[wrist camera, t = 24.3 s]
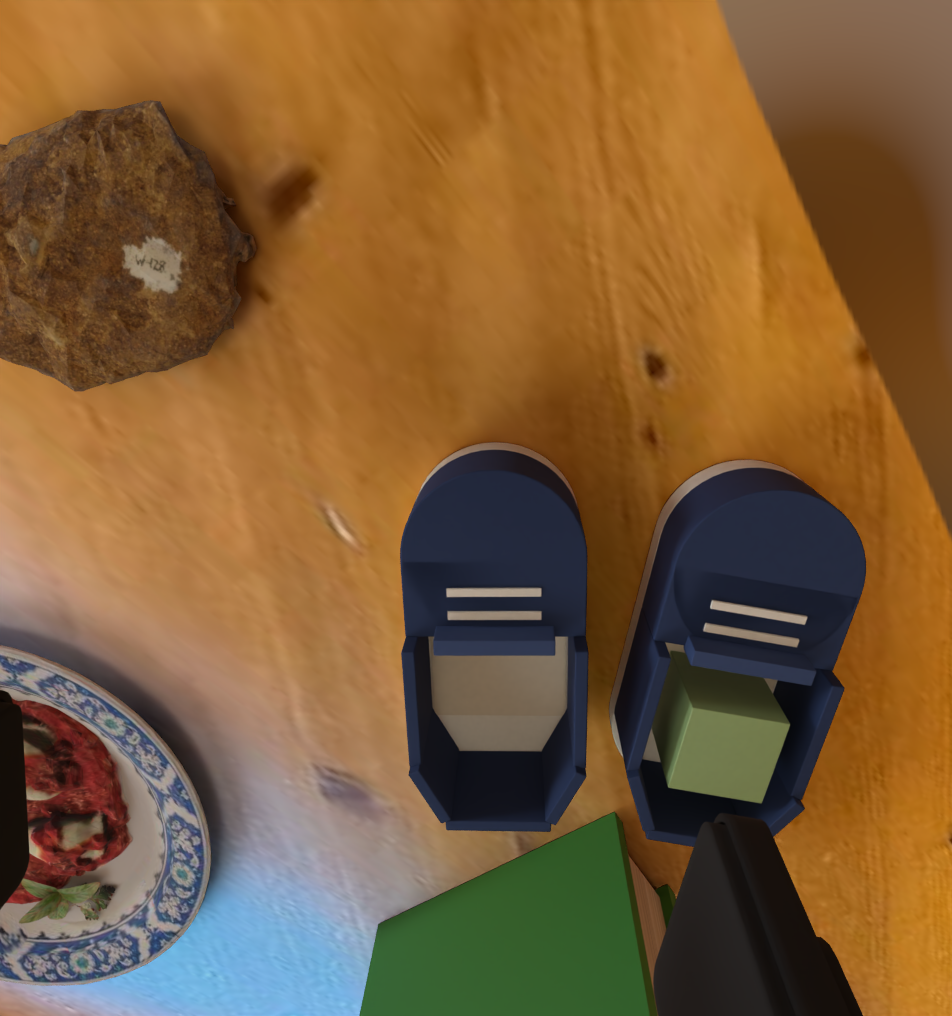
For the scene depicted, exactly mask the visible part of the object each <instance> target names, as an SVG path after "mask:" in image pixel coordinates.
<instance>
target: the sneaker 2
mask: <svg viewBox="0 0 952 1016" xmlns="http://www.w3.org/2000/svg"><path fill="white" fill-rule="evenodd" d="M865 576H866V559H865V553H864V548H863V545H862V542H861V539H860V537H859V535H858V533H857V531H856V529H855V528H854V526H853V525H852V523H851V522H850V521H849V519H848V518H847V517H846V516H845V515H844V514H843V513H842V512H841V511H840V510H838V509H837V508H836V507H835V506H833V505H832V504H831V503H830V502H828V501H827V500H826V499H825V498H824V497H822V496H821V495H820V494H819V493H817V492H816V491H815V490H814V489H812V488H811V487H810V486H809V485H807V484H806V483H805V482H804V481H803V480H801V479H800V478H799V477H797V476H796V475H795V474H793V473H792V472H790V471H788V470H787V469H785V468H783V467H780V466H778V465H775V464H772V463H768V462H764V461H758V460H735V461H728V462H724V463H720V464H717V465H714V466H712V467H709V468H706V469H704V470H702V471H701V472H699V473H697V474H695V475H694V476H692V477H691V478H689V479H688V480H687V481H685V482H684V483H683V484H682V485H681V486H680V487H679V488H678V489H677V490H676V491H675V492H674V493H673V494H672V495H671V497H670V498H669V499H668V501H667V502H666V504H665V505H664V507H663V509H662V511H661V513H660V515H659V518H658V521H657V524H656V527H655V531H654V534H653V538H652V542H651V546H650V550H649V553H648V557H647V561H646V565H645V569H644V572H643V576H642V580H641V584H640V588H639V592H638V595H637V599H636V603H635V607H634V611H633V614H632V618H631V622H630V626H629V630H628V633H627V637H626V641H625V645H624V649H623V653H622V656H621V660H620V664H619V668H618V672H617V675H616V679H615V683H614V687H613V691H612V694H611V699H610V704H609V715H610V723H611V728H612V733H613V737H614V740H615V744H616V746H617V748H618V750H619V752H620V753H621V755H622V757H623V758H624V763H625V768H626V773H627V778H628V781H629V785H630V788H631V791H632V795H633V798H634V802H635V805H636V808H637V812H638V815H639V818H640V822H641V825H642V829H643V831H645V833H646V838H647V839H650V840H656V841H662V842H668V843H674V844H680V845H686V846H692V847H694V845H695V842H696V839H697V836H698V833H699V830H700V828H701V826H702V824H703V823H704V822H712V823H714V820H715V818H716V817H717V816H718V815H719V814H720V813H726V814H732V815H738V816H743V817H749V818H755V819H761V820H763V821H764V822H766V824H767V825H768V827H769V829H770V831H771V834H772V836H773V837H774V836H775V835H776V834H777V833H778V832H779V831H781V830H782V829H783V828H784V827H785V826H786V825H787V824H788V823H790V822H791V821H792V820H793V819H794V818H795V817H796V816H798V815H799V814H800V813H801V812H802V811H803V810H804V809H805V808H804V806H803V804H802V802H801V800H802V798H803V795H804V793H805V790H806V787H807V785H808V782H809V780H810V777H811V775H812V772H813V769H814V767H815V764H816V762H817V759H818V756H819V754H820V751H821V749H822V746H823V743H824V741H825V738H826V736H827V733H828V730H829V728H830V725H831V723H832V720H833V717H834V715H835V712H836V710H837V707H838V704H839V702H840V699H841V697H842V694H843V692H844V687H843V685H842V684H841V683H840V681H839V680H838V679H837V677H836V676H835V675H834V673H833V672H832V670H833V669H834V666H835V663H836V661H837V658H838V655H839V653H840V650H841V647H842V645H843V642H844V639H845V637H846V634H847V631H848V629H849V626H850V623H851V621H852V618H853V615H854V613H855V610H856V607H857V605H858V602H859V599H860V597H861V594H862V590H863V587H864V582H865ZM671 650H672V651H678V652H683V653H686V655H687V658H688V660H689V663H690V665H692V666H697V667H703V668H709V669H715V670H721V671H727V672H732V673H738V674H744V675H750V676H756V677H762V678H764V679H765V681H766V683H767V684H768V686H769V688H770V690H771V691H772V693H773V695H774V697H775V698H776V700H777V702H778V704H779V705H780V707H781V709H782V711H783V712H784V714H785V716H786V718H787V719H788V721H789V723H790V727H789V730H788V733H787V735H786V738H785V741H784V744H783V746H782V749H781V752H780V755H779V757H778V760H777V763H776V766H775V768H774V771H773V774H772V777H771V779H770V782H769V785H768V788H767V790H766V793H765V796H764V799H763V801H762V803H755V802H750V801H744V800H738V799H732V798H726V797H720V796H714V795H709V794H703V793H697V792H691V791H685V790H679V789H673V788H668V786H667V782H666V778H665V775H664V771H663V768H662V764H661V761H660V757H659V753H658V750H657V746H656V743H655V739H654V735H653V732H652V728H651V727H652V724H653V720H654V717H655V713H656V710H657V707H658V703H659V700H660V696H661V693H662V689H663V686H664V682H665V679H666V675H667V672H668V668H669V665H670V662H671V657H670V651H671Z"/></svg>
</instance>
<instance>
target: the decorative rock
mask: <svg viewBox="0 0 952 1016" xmlns="http://www.w3.org/2000/svg"><path fill="white" fill-rule="evenodd" d="M232 206H236V204H235V202H234V200H233V198H227V197H226V196H225V194H224V193H223V191H222V190H221V189H220V188H219V187H218V186H217V183H216V180H215V176H214V173H213V171H212V168H211V167H210V165H209V162H208V160H207V157H206V154H205V152H204V151H202V150H200V149H198V148H196V147H194V146H192V145H190V144H188V143H187V142H186V141H184V140H183V139H182V138H180V137H179V136H177V134H176V132H175V130H174V129H173V127H172V125H171V123H170V121H169V119H168V117H167V115H166V113H165V110H164V108H163V106H162V104H161V102H158V101H144V102H142V103H137V104H134V105H129V106H125V107H121V108H118V109H102V110H96V111H77V112H76V113H75V114H74V115H72V116H70V117H68V118H65V119H63V120H61V121H58V122H56V123H53V124H51V125H49V126H46V127H44V128H41V129H39V130H36V131H33V132H30V133H27V134H24V135H21V136H17V137H14V138H12V139H11V140H10V142H9V144H8V145H1V144H0V358H2V359H4V360H6V361H9V362H12V363H14V364H18V365H22V366H25V367H29V368H32V369H35V370H38V371H39V372H41V373H42V374H45V375H47V376H50V377H53V378H55V379H57V380H58V381H60V382H61V383H63V384H64V385H66V386H68V387H69V388H71V389H72V390H74V391H85V390H87V389H89V388H93V387H96V386H99V385H102V384H104V383H106V382H107V383H109V384H112V383H115V382H119V381H122V380H124V379H127V378H131V377H135V376H138V375H140V374H142V373H145V372H159V371H165V370H168V369H170V368H172V367H174V366H176V365H179V364H181V363H183V362H186V361H188V360H191V359H194V358H197V357H201V356H205V355H207V354H208V352H209V350H210V348H211V347H212V345H213V343H214V341H215V340H216V339H217V338H218V337H219V336H220V335H221V333H222V332H223V331H224V330H227V329H230V328H232V329H234V322H233V319H232V316H233V314H234V313H235V311H236V309H237V307H238V305H239V303H240V301H241V297H240V295H239V294H238V292H237V291H236V289H235V287H236V285H237V278H236V267H237V264H238V262H239V261H243V262H246V261H247V260H248V259H250V258H252V257H254V254H255V251H256V248H257V247H256V244H255V241H254V238H253V236H252V235H250V234H249V233H245V232H241V231H240V229H239V228H238V226H237V225H236V224H235V223H234V221H233V220H232V219H231V218H230V216H229V215H228V214H227V212H226V211H225V210H224V209H225V208H228V207H232Z"/></svg>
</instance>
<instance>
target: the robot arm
mask: <svg viewBox="0 0 952 1016" xmlns="http://www.w3.org/2000/svg"><path fill="white" fill-rule="evenodd" d="M29 857H30V852H29V833H28V814H27V795H26V777H25V758H24V739H23V720H22V711H21V708H20V706H19V705H17V704H13V702H12V697H11V696H10V694H9V693H8V692H6V691H3V690H0V909H1V908H2V907H3V906H4V904H5V903H6V902H7V900H8V899H9V898H10V897H11V895H12V894H13V893H14V892H15V890H16V889H17V888H18V886H19V885H20V883H21V882H22V880H23V878H24V876H25V873H26V871H27V868H28V864H29ZM653 986H654V996H655V1002H656V1007H657V1013H658V1016H863V1015H862V1012H861V1010H860V1008H859V1006H858V1003H857V1001H856V999H855V997H854V995H853V992H852V990H851V988H850V986H849V984H848V981H847V979H846V977H845V975H844V972H843V970H842V968H841V966H840V964H839V961H838V959H837V957H836V955H835V954H834V952H833V950H832V948H831V947H830V945H829V944H828V943H827V942H826V941H825V940H824V939H822V938H821V937H816V935H815V932H814V930H813V928H812V926H811V923H810V921H809V919H808V916H807V914H806V912H805V909H804V907H803V905H802V903H801V900H800V898H799V896H798V893H797V891H796V889H795V886H794V884H793V882H792V880H791V877H790V875H789V873H788V870H787V868H786V866H785V863H784V861H783V859H782V857H781V854H780V852H779V850H778V847H777V845H776V843H775V840H774V838H773V836H772V834H771V831H770V829H769V827H768V825H767V824H766V822H764V821H763V820H761V819H755V818H749V817H743V816H738V815H732V814H726V813H720V814H719V815H718V816H717V817H716V818H715V820H714V823H712V822H704V823H703V824H702V826H701V828H700V830H699V833H698V836H697V839H696V842H695V845H694V848H693V851H692V854H691V857H690V860H689V863H688V866H687V869H686V872H685V875H684V878H683V881H682V884H681V887H680V890H679V893H678V896H677V899H676V902H675V905H674V908H673V911H672V914H671V917H670V920H669V923H668V926H667V929H666V932H665V935H664V938H663V941H662V944H661V947H660V950H659V953H658V956H657V959H656V963H655V967H654V977H653Z"/></svg>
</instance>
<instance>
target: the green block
mask: <svg viewBox="0 0 952 1016" xmlns="http://www.w3.org/2000/svg"><path fill="white" fill-rule="evenodd" d="M670 657H671V662H670V665H669V668H668V672H667V675H666V679H665V682H664V686H663V689H662V693H661V696H660V700H659V703H658V707H657V710H656V713H655V717H654V720H653V724H652V727H651V728H652V732H653V735H654V739H655V743H656V746H657V750H658V753H659V757H660V761H661V764H662V768H663V771H664V775H665V778H666V782H667V786H668V788H673V789H679V790H685V791H691V792H697V793H703V794H709V795H714V796H720V797H726V798H732V799H738V800H744V801H750V802H755V803H762V801H763V799H764V796H765V793H766V790H767V788H768V785H769V782H770V779H771V777H772V774H773V771H774V768H775V766H776V763H777V760H778V757H779V755H780V752H781V749H782V746H783V744H784V741H785V738H786V735H787V733H788V730H789V727H790V723H789V721H788V719H787V718H786V716H785V714H784V712H783V711H782V709H781V707H780V705H779V704H778V702H777V700H776V698H775V697H774V695H773V693H772V691H771V690H770V688H769V686H768V684H767V683H766V681H765V679H764V678H762V677H756V676H750V675H744V674H738V673H732V672H727V671H721V670H715V669H709V668H703V667H697V666H692V665H690V663H689V660H688V658H687V655H686V653H683V652H678V651H672V650H671V651H670Z"/></svg>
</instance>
